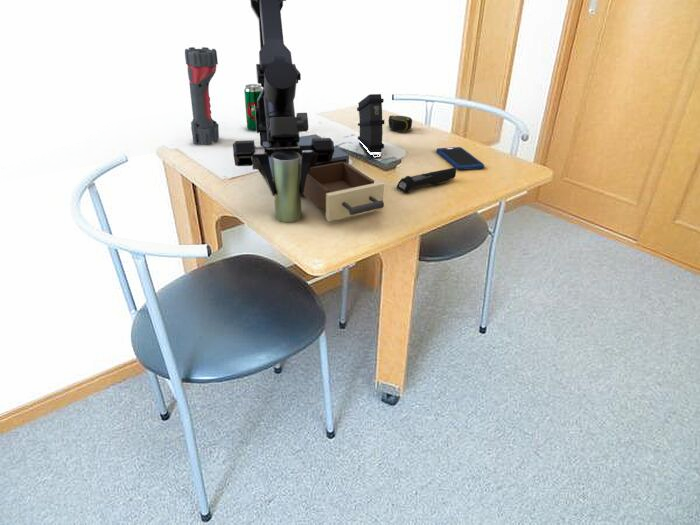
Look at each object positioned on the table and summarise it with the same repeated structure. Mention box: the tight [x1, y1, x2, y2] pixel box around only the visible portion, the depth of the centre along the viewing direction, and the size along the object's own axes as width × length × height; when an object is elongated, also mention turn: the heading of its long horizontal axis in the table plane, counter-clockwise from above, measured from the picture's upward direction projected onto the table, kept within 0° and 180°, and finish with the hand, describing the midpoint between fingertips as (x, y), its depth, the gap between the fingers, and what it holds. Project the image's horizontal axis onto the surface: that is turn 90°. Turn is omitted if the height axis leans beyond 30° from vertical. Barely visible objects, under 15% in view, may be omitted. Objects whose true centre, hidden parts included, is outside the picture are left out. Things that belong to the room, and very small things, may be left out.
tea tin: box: [272, 151, 302, 223], centre depth 92 cm, size 5×5×12 cm
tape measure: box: [387, 115, 413, 133], centre depth 143 cm, size 7×7×4 cm
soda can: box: [243, 83, 263, 132], centre depth 137 cm, size 5×5×12 cm
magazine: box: [356, 93, 385, 159], centre depth 125 cm, size 4×13×15 cm, turn 15°
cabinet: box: [263, 133, 350, 196], centre depth 109 cm, size 16×14×7 cm
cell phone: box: [435, 146, 485, 171], centre depth 125 cm, size 7×14×1 cm, turn 15°
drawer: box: [302, 161, 385, 222], centre depth 97 cm, size 19×12×5 cm, turn 31°
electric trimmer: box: [396, 167, 457, 194], centre depth 110 cm, size 4×16×3 cm, turn 121°
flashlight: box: [184, 46, 220, 146], centre depth 124 cm, size 8×8×23 cm
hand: (287, 194), depth 91 cm, fingers closed on tea tin, 5 cm apart
